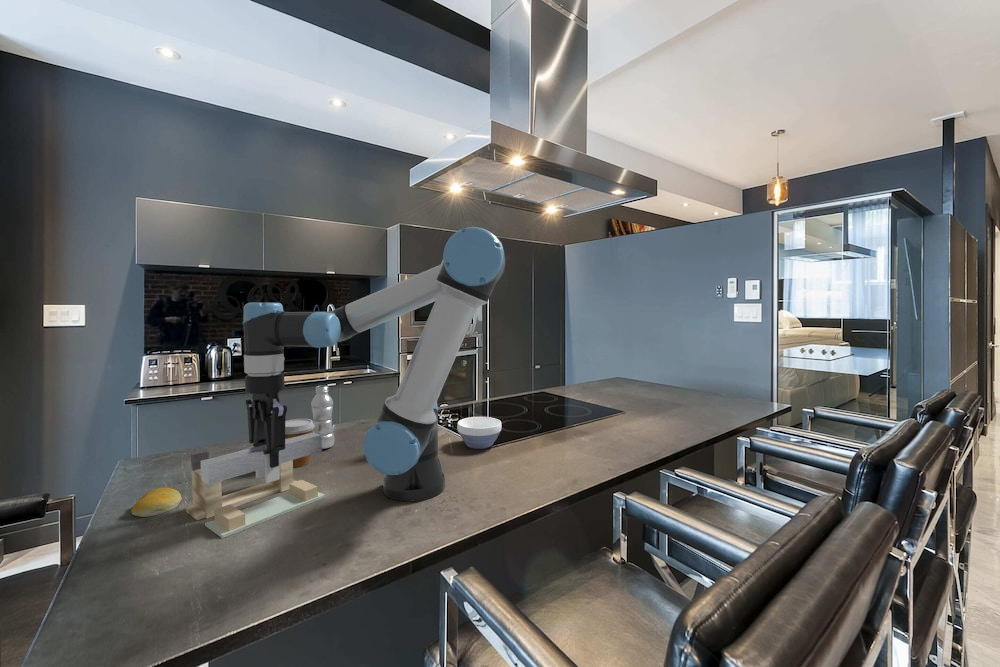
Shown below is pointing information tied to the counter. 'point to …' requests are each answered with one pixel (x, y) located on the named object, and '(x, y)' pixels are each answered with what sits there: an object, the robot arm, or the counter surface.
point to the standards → (211, 495)
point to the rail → (257, 458)
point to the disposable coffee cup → (298, 429)
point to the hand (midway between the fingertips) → (267, 478)
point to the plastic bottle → (323, 415)
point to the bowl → (479, 431)
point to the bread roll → (157, 502)
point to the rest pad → (262, 509)
